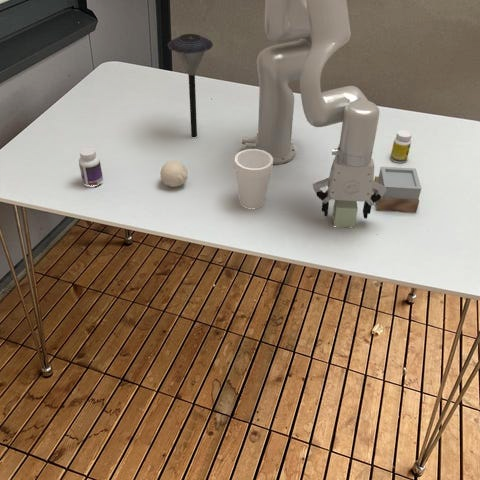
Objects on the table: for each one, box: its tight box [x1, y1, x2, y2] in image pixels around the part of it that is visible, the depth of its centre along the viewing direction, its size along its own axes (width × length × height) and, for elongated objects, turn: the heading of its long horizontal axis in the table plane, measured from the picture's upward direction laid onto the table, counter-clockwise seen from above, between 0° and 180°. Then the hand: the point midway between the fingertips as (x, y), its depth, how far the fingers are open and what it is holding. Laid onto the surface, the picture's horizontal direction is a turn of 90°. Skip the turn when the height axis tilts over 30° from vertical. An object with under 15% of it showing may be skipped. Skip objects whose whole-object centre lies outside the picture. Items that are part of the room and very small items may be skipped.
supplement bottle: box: [389, 129, 413, 164], centre depth 162 cm, size 5×5×8 cm
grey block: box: [378, 166, 422, 201], centre depth 146 cm, size 9×9×4 cm
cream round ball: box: [160, 160, 189, 188], centre depth 151 cm, size 7×7×7 cm
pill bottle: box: [78, 146, 104, 186], centre depth 150 cm, size 5×5×10 cm
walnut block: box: [372, 175, 420, 214], centre depth 149 cm, size 10×10×4 cm
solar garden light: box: [167, 33, 214, 138], centre depth 162 cm, size 12×12×30 cm
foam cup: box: [233, 148, 274, 210], centre depth 144 cm, size 10×9×13 cm
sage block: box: [332, 200, 359, 229], centre depth 141 cm, size 5×5×6 cm
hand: (345, 214), depth 141 cm, fingers open, 9 cm apart
